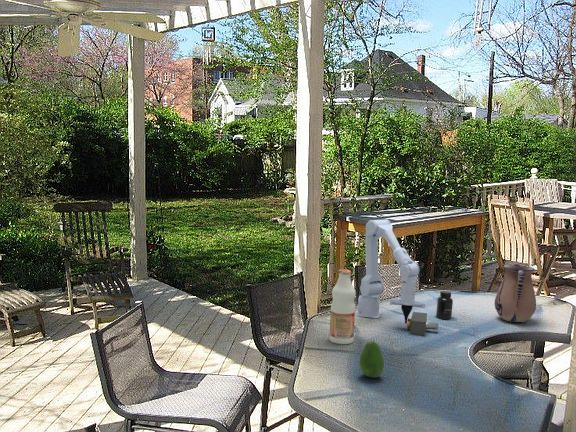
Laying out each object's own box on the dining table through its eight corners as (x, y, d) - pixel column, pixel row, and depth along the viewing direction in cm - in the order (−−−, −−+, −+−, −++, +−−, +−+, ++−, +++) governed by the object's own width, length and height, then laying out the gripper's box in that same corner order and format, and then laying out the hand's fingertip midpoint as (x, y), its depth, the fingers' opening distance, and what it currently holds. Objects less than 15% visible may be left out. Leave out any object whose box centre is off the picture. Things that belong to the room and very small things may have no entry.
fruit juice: (324, 339, 234) (327, 269, 231) (343, 335, 239) (346, 267, 236) (339, 346, 227) (343, 273, 223) (358, 342, 232) (362, 271, 228)
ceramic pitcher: (527, 316, 279) (532, 263, 276) (542, 329, 258) (547, 273, 255) (489, 313, 281) (493, 261, 278) (500, 327, 260) (505, 270, 257)
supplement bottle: (448, 320, 266) (449, 294, 265) (433, 317, 270) (435, 291, 269) (453, 317, 272) (455, 292, 270) (439, 314, 276) (441, 289, 274)
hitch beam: (409, 334, 245) (410, 320, 244) (412, 324, 258) (413, 311, 257) (424, 336, 243) (425, 322, 242) (426, 326, 256) (427, 313, 256)
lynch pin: (407, 329, 250) (407, 319, 249) (407, 326, 254) (408, 317, 253) (437, 332, 246) (438, 323, 246) (438, 329, 250) (438, 320, 250)
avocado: (367, 370, 203) (369, 336, 201) (387, 377, 198) (389, 342, 196) (354, 377, 197) (356, 341, 195) (374, 383, 192) (376, 347, 190)
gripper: (389, 291, 248) (387, 323, 250) (425, 295, 244) (423, 327, 246) (391, 287, 255) (389, 318, 256) (426, 291, 251) (423, 322, 253)
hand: (406, 322), depth 252 cm, fingers closed
